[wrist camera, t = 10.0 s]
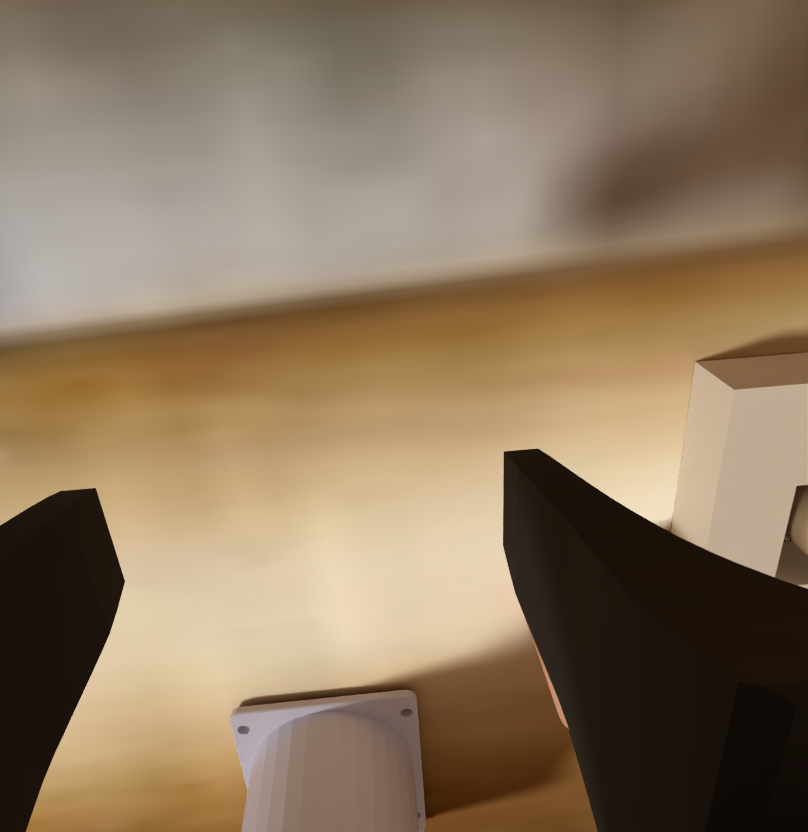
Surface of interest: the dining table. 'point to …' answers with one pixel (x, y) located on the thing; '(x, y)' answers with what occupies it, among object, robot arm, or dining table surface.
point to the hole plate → (745, 461)
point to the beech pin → (799, 519)
